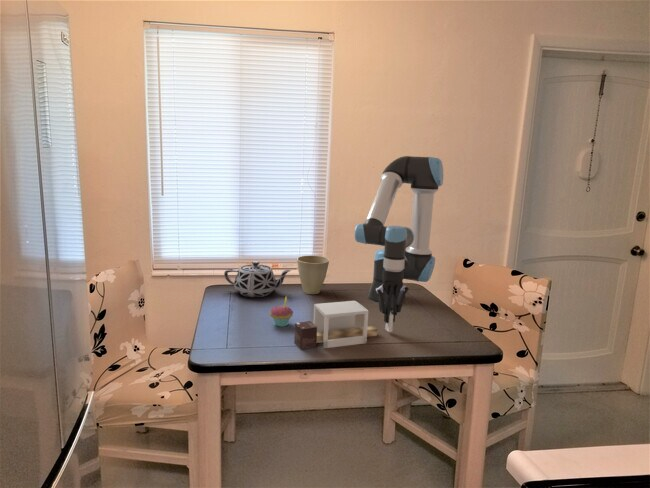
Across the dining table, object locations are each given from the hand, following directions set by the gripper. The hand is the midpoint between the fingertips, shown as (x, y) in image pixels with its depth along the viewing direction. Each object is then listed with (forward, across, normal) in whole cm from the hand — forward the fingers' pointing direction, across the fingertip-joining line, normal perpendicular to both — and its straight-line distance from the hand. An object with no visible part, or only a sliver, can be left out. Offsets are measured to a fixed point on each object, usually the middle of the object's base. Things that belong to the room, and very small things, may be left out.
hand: (388, 330), depth 169 cm
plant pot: (+2, +12, -54) cm, 55 cm away
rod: (+2, +18, 0) cm, 18 cm away
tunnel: (+1, +20, 0) cm, 20 cm away
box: (+1, +33, +2) cm, 33 cm away
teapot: (+2, +37, -57) cm, 68 cm away
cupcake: (+1, +36, -18) cm, 41 cm away
